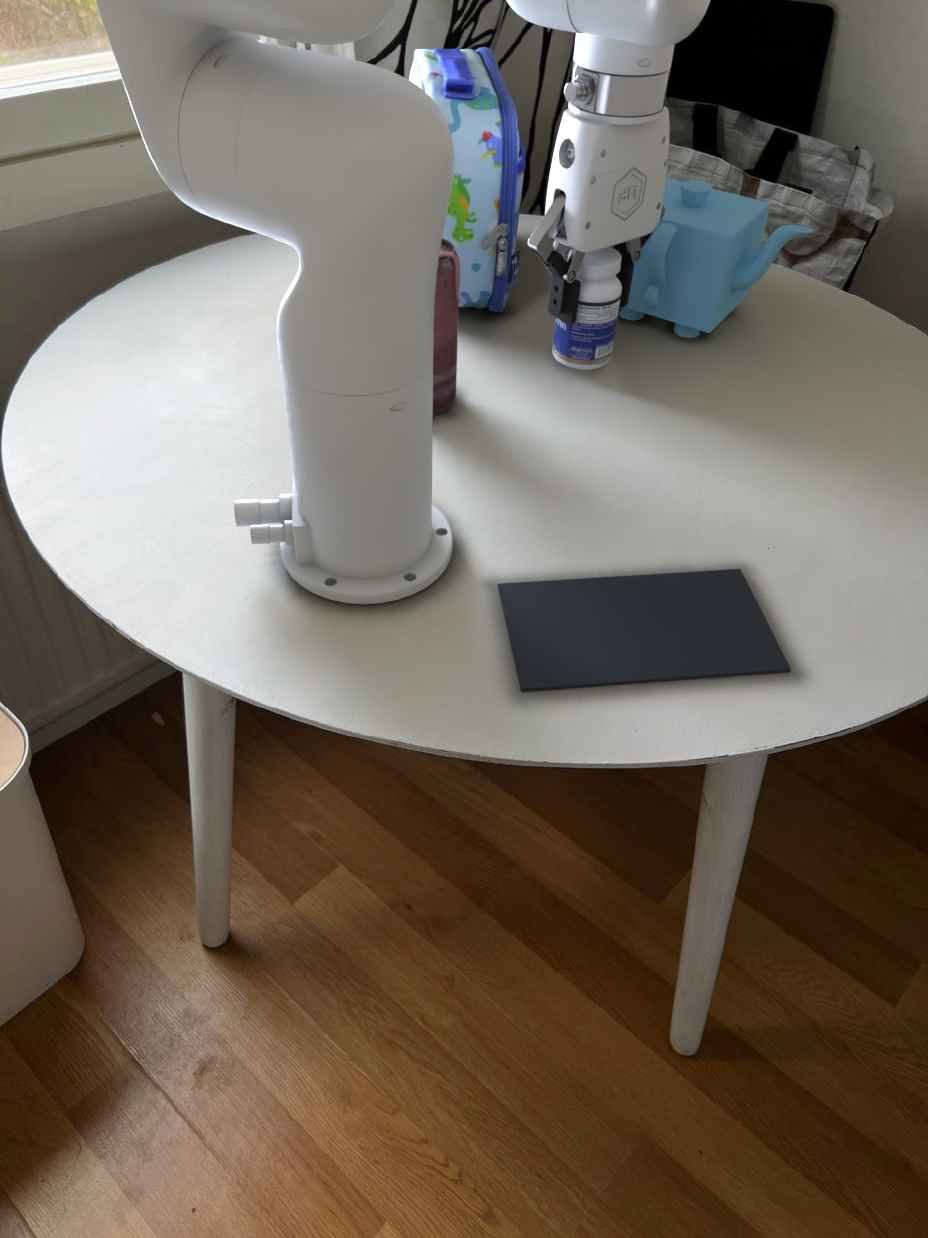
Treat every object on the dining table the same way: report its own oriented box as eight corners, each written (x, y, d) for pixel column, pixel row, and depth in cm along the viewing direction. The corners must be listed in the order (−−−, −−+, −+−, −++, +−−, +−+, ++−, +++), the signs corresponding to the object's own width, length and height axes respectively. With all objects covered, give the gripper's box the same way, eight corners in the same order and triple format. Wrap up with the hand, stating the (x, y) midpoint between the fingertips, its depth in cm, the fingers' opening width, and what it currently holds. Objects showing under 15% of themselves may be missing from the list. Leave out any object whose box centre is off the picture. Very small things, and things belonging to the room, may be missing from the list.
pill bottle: (550, 341, 90) (561, 238, 83) (608, 344, 90) (624, 242, 83) (552, 370, 86) (565, 265, 79) (613, 373, 86) (631, 268, 79)
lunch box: (521, 329, 93) (540, 101, 78) (415, 332, 92) (414, 100, 77) (488, 227, 111) (498, 26, 97) (399, 228, 110) (396, 25, 96)
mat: (521, 692, 58) (521, 689, 58) (497, 586, 65) (497, 583, 65) (790, 672, 60) (791, 668, 60) (739, 571, 67) (740, 568, 67)
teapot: (585, 322, 95) (602, 192, 86) (650, 271, 104) (671, 149, 95) (751, 376, 88) (788, 241, 79) (804, 315, 97) (843, 188, 88)
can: (450, 424, 80) (454, 267, 70) (380, 414, 81) (374, 258, 71) (464, 389, 84) (469, 236, 75) (397, 380, 85) (394, 228, 75)
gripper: (568, 119, 66) (543, 350, 79) (727, 87, 74) (681, 302, 86) (503, 93, 70) (489, 317, 83) (659, 65, 78) (625, 274, 91)
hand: (587, 307), depth 84 cm, fingers closed on pill bottle, 5 cm apart
